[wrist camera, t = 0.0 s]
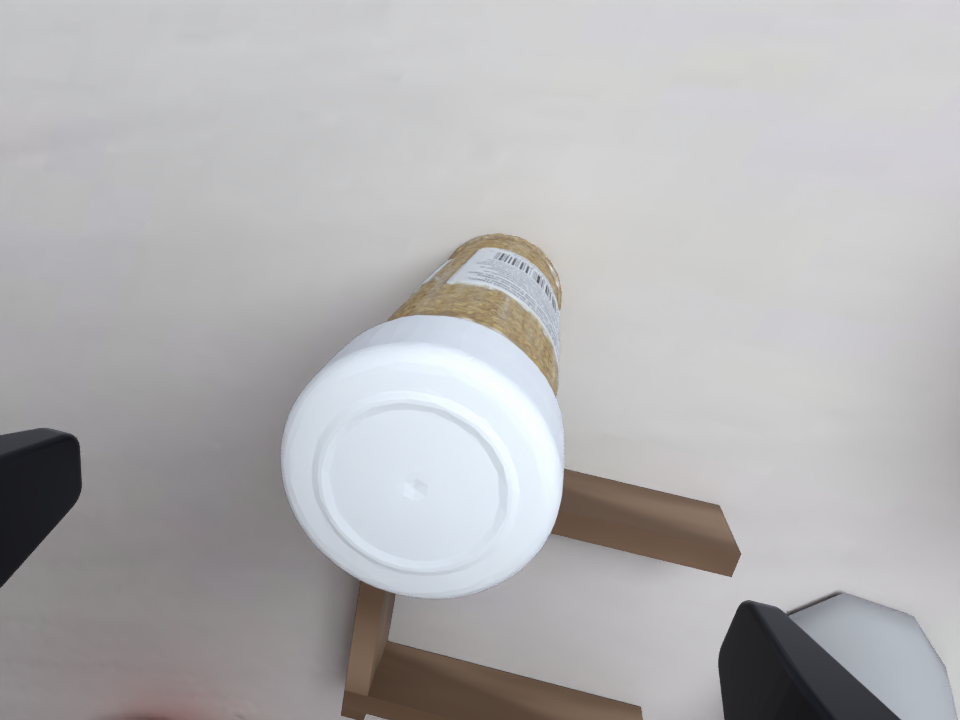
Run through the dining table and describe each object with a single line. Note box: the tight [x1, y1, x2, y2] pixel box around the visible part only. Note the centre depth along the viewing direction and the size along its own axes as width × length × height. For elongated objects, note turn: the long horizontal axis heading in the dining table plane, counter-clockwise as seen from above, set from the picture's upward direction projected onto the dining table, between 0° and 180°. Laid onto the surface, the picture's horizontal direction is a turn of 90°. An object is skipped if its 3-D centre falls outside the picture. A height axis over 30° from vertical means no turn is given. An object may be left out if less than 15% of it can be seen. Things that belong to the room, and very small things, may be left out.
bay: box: [341, 469, 741, 720], centre depth 24 cm, size 13×13×3 cm
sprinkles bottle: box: [281, 234, 564, 599], centre depth 15 cm, size 5×5×13 cm
